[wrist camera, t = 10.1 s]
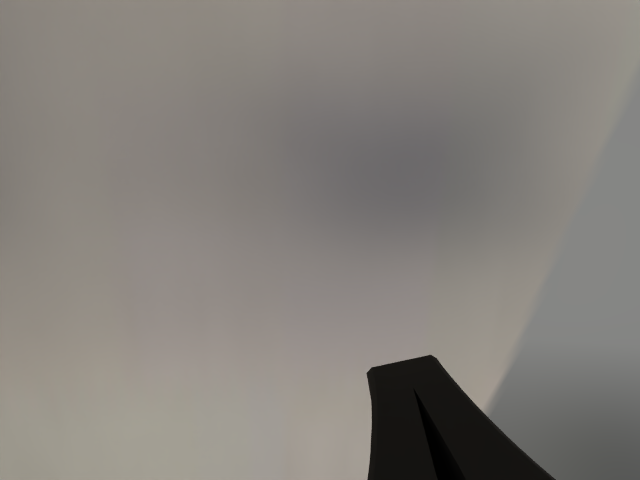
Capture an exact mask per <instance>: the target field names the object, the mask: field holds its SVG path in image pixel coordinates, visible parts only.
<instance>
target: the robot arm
mask: <svg viewBox="0 0 640 480" xmlns="http://www.w3.org/2000/svg"><path fill="white" fill-rule="evenodd" d="M367 378H368V384H369V390H370V395H371V402H372V433H371V453H370V465H369V473H368V480H556V479H554V478H553V477H552V476H551V475H549V474H548V473H547V472H546V471H545V470H544V469H542V468H541V467H540V466H539V465H538V464H537V463H535V462H534V461H533V460H532V459H531V458H530V457H529V456H528V455H527V454H526V453H524V452H523V451H522V450H521V449H520V448H519V447H518V446H517V445H516V444H515V443H513V442H512V441H511V440H510V439H509V438H508V437H507V436H506V435H505V434H504V433H503V432H502V431H501V430H500V429H499V428H498V427H497V426H496V425H495V424H494V423H493V422H492V421H491V420H490V419H489V418H488V417H487V416H486V415H485V414H484V413H483V412H482V411H481V410H480V409H479V408H478V407H477V406H476V405H475V403H474V402H473V401H472V400H471V399H470V398H469V397H468V396H467V395H466V394H465V392H464V391H463V390H462V389H461V388H460V387H459V386H458V385H457V383H456V382H455V381H454V380H453V379H452V377H451V376H450V375H449V374H448V373H447V371H446V370H445V369H444V368H443V366H442V365H441V364H440V362H439V361H438V360H437V358H435V357H433V356H432V355H428V356H423V357H419V358H414V359H409V360H405V361H400V362H395V363H391V364H386V365H381V366H377V367H372V368H371V369H370V370H369V371H368V372H367Z"/></svg>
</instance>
